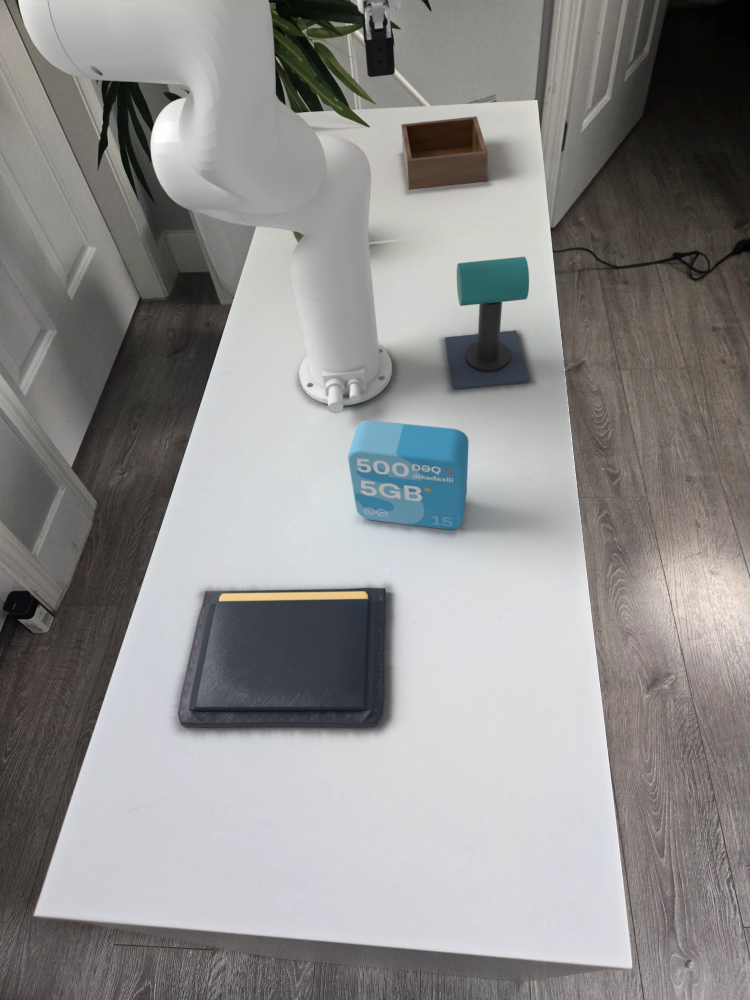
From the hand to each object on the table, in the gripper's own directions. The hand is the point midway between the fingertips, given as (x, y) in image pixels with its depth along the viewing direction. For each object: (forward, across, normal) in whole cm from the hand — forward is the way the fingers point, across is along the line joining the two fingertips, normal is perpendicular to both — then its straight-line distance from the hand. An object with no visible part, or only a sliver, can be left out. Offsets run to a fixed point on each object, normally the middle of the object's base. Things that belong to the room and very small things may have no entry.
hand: (379, 58), depth 86 cm
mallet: (+30, -22, -11) cm, 39 cm away
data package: (+31, -46, +1) cm, 55 cm away
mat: (+30, -22, -11) cm, 39 cm away
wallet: (+31, -63, +15) cm, 72 cm away
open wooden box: (+30, +30, -11) cm, 44 cm away
